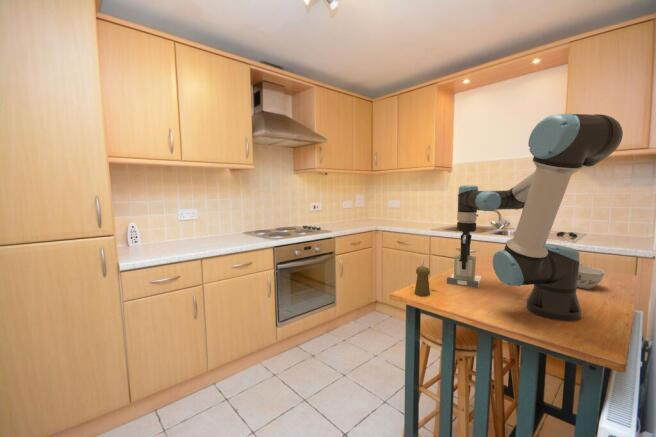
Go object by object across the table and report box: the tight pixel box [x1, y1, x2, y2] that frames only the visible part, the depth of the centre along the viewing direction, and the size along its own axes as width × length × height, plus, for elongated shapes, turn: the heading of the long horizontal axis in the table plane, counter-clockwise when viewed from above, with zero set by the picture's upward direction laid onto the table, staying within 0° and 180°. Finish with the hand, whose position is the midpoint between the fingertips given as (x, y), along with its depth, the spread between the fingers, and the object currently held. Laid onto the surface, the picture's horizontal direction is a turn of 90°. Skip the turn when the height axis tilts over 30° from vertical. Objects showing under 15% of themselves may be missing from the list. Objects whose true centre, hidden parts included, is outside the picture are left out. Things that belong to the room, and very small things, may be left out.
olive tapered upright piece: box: [414, 266, 431, 297], centre depth 122 cm, size 6×6×11 cm
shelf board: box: [446, 272, 482, 289], centre depth 135 cm, size 18×12×4 cm, turn 149°
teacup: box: [577, 264, 605, 290], centre depth 128 cm, size 15×12×8 cm
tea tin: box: [453, 253, 477, 281], centre depth 132 cm, size 8×4×10 cm, turn 59°
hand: (464, 274), depth 132 cm, fingers open, 4 cm apart
